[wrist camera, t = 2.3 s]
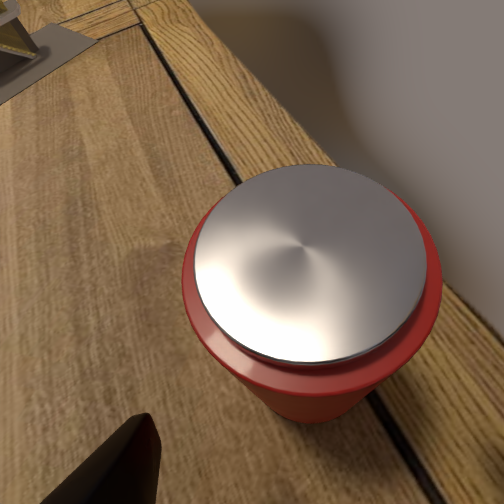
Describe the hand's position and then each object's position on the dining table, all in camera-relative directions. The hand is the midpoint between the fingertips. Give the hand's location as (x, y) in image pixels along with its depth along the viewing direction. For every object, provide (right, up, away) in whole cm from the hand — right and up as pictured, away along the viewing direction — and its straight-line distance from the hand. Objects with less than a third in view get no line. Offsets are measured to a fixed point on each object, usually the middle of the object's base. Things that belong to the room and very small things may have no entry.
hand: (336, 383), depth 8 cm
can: (+1, -3, +10) cm, 10 cm away
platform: (-31, +26, +33) cm, 52 cm away
